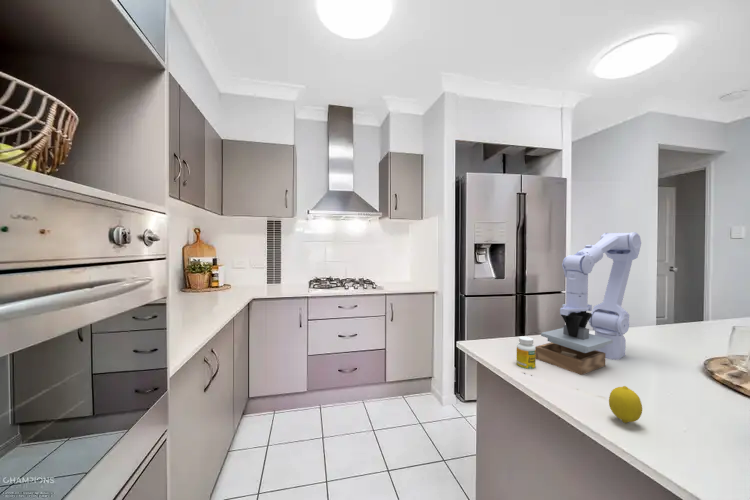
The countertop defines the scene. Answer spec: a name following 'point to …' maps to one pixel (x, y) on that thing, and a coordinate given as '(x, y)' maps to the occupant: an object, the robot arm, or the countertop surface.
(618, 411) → the lemon
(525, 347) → the supplement bottle
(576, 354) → the block
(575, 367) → the box
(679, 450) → the countertop surface
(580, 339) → the lid
